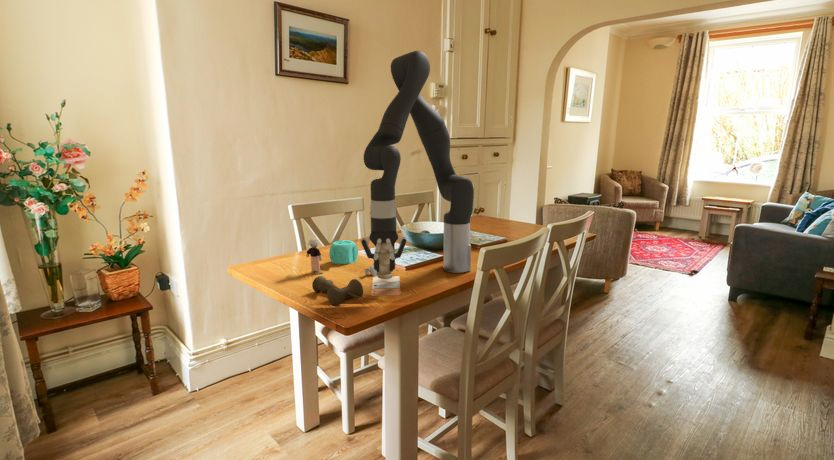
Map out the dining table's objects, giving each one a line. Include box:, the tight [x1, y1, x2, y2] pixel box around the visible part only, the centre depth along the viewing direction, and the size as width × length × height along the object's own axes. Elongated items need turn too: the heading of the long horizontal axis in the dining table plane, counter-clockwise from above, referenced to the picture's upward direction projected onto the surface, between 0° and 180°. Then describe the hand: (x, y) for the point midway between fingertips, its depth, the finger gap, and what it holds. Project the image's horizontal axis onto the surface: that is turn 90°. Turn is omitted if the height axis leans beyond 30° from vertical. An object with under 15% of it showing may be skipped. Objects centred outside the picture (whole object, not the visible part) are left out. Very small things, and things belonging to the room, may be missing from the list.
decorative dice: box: [328, 239, 359, 265], centre depth 168 cm, size 8×8×8 cm
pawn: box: [377, 243, 393, 279], centre depth 133 cm, size 4×4×11 cm
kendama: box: [311, 275, 364, 307], centre depth 133 cm, size 6×10×20 cm
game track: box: [370, 275, 401, 297], centre depth 141 cm, size 10×18×1 cm, turn 3°
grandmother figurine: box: [306, 237, 324, 275], centre depth 156 cm, size 8×4×13 cm, turn 65°
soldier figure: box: [363, 262, 399, 277], centre depth 153 cm, size 8×5×12 cm
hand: (384, 270), depth 134 cm, fingers closed on pawn, 3 cm apart
